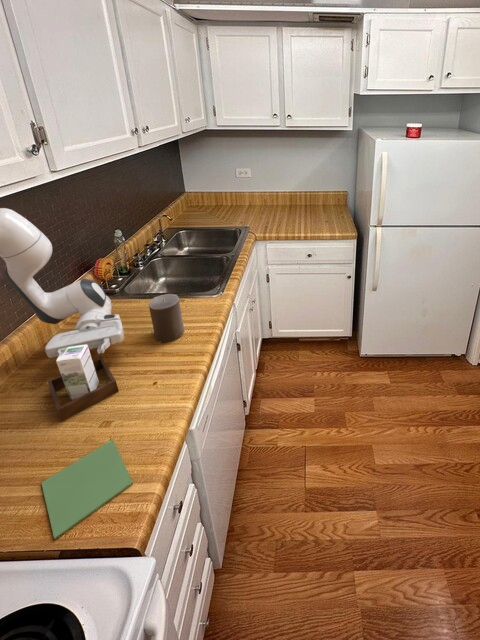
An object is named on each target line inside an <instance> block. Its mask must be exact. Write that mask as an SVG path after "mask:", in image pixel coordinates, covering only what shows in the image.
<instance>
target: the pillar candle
mask: <svg viewBox="0 0 480 640" xmlns="http://www.w3.org/2000/svg"><path fill="white" fill-rule="evenodd" d="M148 307H149V308H148V310H149V313H150V320H151V324H152V328H153V333H154V338H155V339H156V341H157V340H158V341H157V342H159V341H161V342H160V343H170V342H169V341H171V342H173V341H172V340H174V341H176V340H178V339H180V338H181V337H182V336H183V335H184V333H185V326H184V325H185V324H184V320H183V315H182V314H183V313H182V309H181V308H182V307H181V303H180V297H179V296H178V295H177V294H174V293H166V294H161V295H158V296H155V297H153V298H152V299H151V300H150V301H149V302H148ZM183 332H184V333H183ZM182 334H183V335H182ZM181 335H182V336H181ZM180 336H181V337H180ZM177 338H178V339H177ZM175 339H176V340H175Z"/></svg>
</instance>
